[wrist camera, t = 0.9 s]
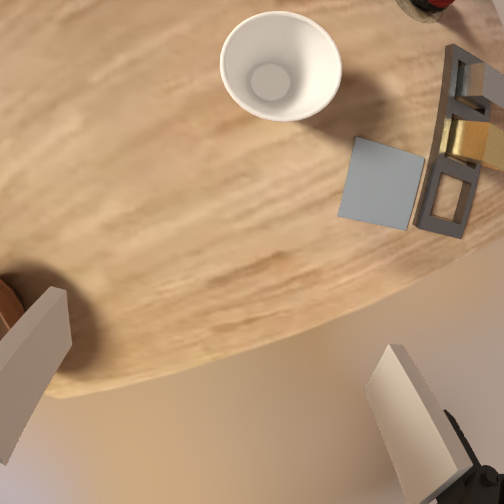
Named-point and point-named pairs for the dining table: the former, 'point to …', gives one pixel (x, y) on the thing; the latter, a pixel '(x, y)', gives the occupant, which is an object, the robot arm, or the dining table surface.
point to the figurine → (424, 9)
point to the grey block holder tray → (437, 160)
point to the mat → (380, 184)
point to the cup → (281, 66)
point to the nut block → (476, 143)
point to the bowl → (9, 308)
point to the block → (480, 87)
